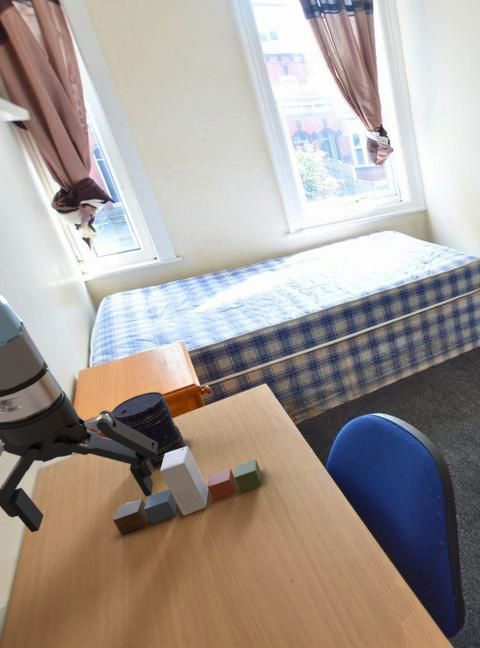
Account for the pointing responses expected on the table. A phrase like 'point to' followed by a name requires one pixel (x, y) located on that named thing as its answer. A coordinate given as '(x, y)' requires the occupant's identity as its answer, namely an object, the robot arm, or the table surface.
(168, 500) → the block
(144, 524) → the block
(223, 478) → the block
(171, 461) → the cosmetic box
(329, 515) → the table surface
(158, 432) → the storage jar
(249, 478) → the block
